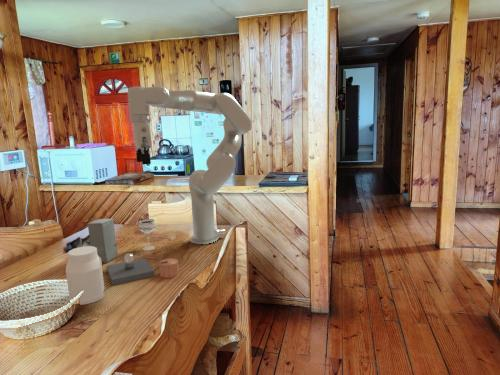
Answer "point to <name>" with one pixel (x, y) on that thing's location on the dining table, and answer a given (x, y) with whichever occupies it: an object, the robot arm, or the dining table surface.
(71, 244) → the snack package
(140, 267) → the post stand
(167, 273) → the orange dial knob
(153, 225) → the wineglass
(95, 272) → the jar
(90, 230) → the skincare box
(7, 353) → the dining table surface
